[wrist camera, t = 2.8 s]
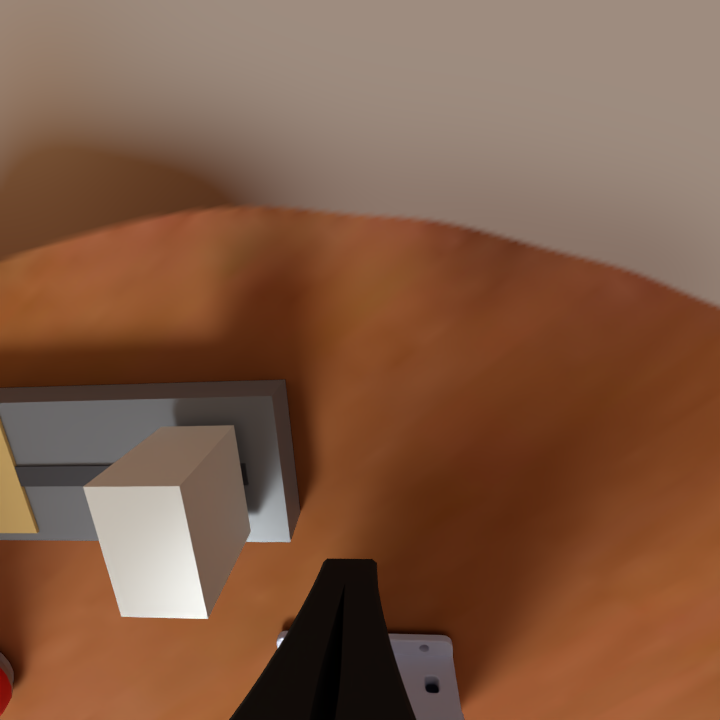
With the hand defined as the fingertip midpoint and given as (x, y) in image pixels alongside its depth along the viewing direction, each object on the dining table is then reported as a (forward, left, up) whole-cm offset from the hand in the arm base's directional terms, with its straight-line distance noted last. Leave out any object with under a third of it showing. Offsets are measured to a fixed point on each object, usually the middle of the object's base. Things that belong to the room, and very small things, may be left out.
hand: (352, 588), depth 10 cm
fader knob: (+7, 0, -5) cm, 8 cm away
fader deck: (+12, 0, -8) cm, 14 cm away
